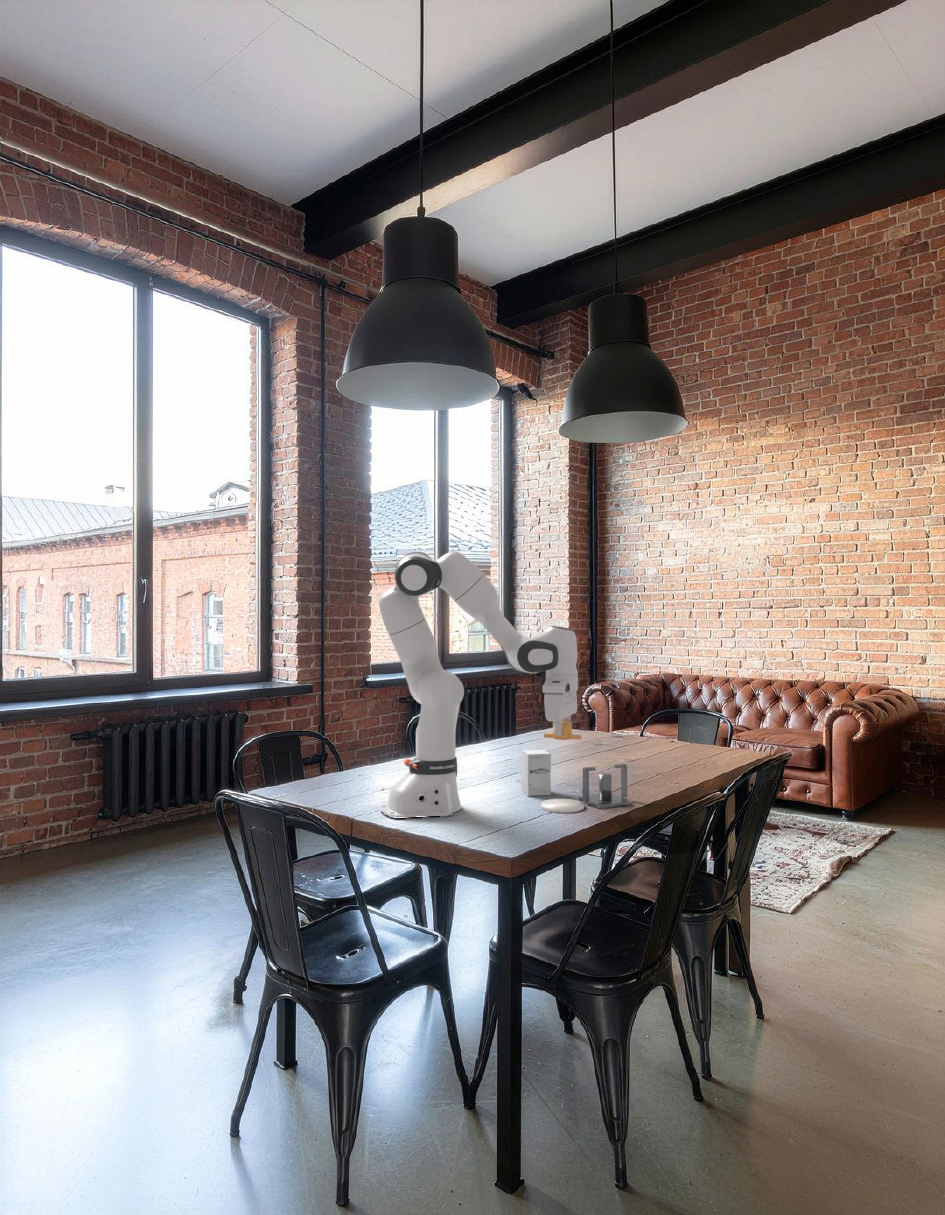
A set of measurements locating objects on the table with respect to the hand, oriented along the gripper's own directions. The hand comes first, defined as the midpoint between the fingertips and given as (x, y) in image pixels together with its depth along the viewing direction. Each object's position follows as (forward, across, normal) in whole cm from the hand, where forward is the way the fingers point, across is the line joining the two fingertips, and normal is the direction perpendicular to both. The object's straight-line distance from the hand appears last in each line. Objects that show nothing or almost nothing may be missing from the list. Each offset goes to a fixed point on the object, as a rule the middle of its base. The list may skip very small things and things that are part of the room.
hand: (562, 733), depth 219 cm
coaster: (+21, 0, 0) cm, 21 cm away
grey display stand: (+21, -10, +10) cm, 25 cm away
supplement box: (+21, -13, -12) cm, 28 cm away
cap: (+1, 0, 0) cm, 1 cm away
